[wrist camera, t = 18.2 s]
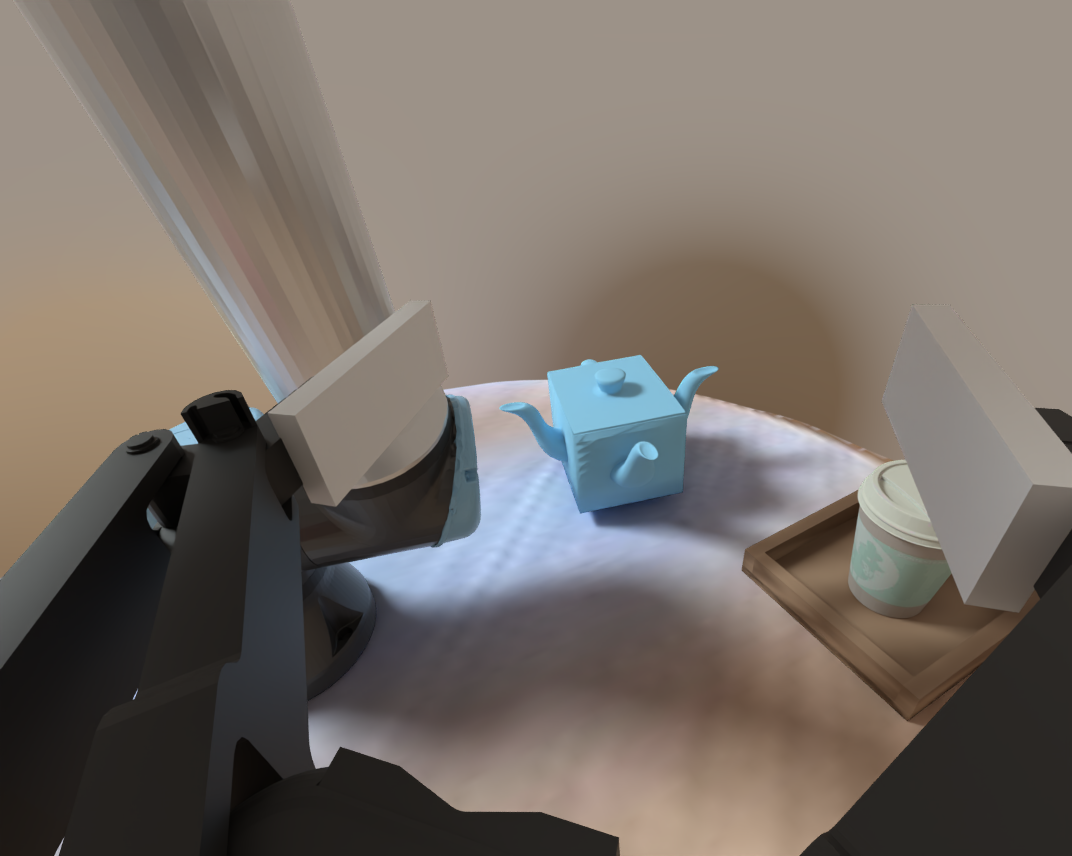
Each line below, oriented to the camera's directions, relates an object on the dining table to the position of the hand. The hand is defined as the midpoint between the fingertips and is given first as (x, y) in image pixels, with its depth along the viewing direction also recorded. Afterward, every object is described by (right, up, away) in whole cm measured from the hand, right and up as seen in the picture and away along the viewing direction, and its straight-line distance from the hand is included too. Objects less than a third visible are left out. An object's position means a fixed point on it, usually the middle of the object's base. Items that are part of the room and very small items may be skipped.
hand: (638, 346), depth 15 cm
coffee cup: (+28, -17, +31) cm, 45 cm away
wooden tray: (+28, -17, +32) cm, 46 cm away
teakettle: (+7, -9, +49) cm, 50 cm away
